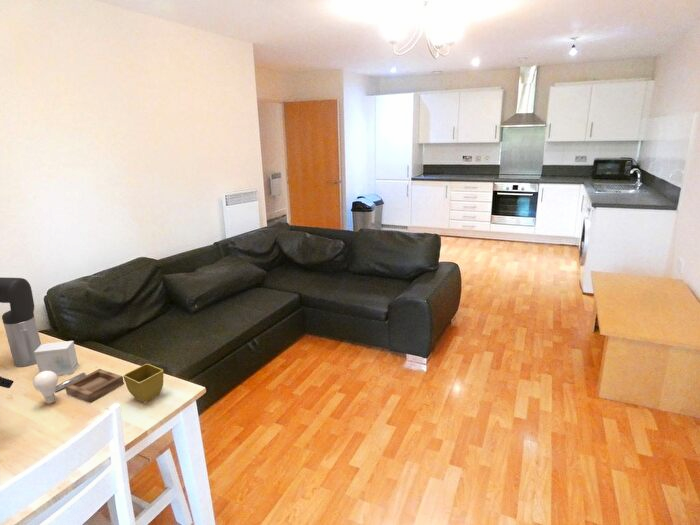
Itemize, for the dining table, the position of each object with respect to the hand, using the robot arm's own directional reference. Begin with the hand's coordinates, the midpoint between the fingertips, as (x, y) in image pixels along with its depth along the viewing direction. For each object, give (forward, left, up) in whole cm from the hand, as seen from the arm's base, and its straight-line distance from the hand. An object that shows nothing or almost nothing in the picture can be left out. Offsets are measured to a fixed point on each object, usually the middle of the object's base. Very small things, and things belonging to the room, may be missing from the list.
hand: (2, 381), depth 121 cm
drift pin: (-5, +20, -14) cm, 24 cm away
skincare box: (-17, +24, -14) cm, 32 cm away
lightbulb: (0, +11, -14) cm, 18 cm away
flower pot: (+26, +26, -14) cm, 39 cm away
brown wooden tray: (+6, +22, -14) cm, 26 cm away
